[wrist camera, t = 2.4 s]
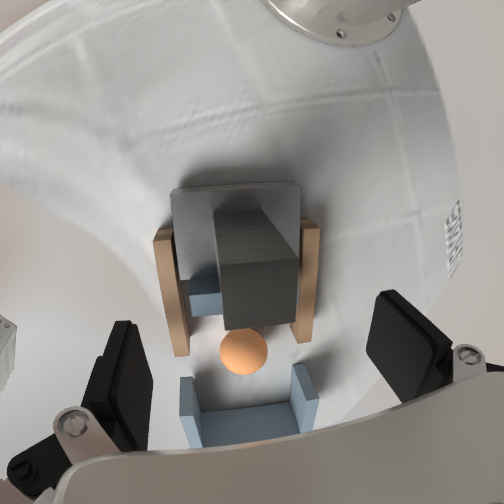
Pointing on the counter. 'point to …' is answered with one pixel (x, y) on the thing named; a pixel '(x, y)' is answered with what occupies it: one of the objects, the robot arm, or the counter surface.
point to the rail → (174, 296)
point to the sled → (240, 251)
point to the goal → (249, 416)
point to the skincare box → (6, 350)
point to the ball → (243, 351)
